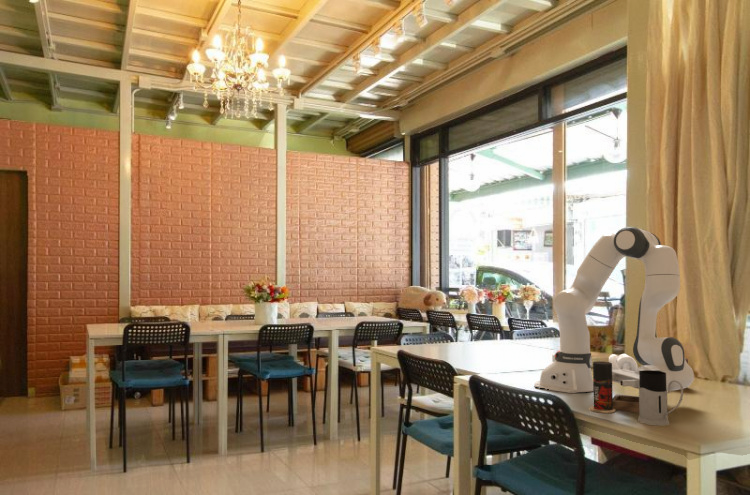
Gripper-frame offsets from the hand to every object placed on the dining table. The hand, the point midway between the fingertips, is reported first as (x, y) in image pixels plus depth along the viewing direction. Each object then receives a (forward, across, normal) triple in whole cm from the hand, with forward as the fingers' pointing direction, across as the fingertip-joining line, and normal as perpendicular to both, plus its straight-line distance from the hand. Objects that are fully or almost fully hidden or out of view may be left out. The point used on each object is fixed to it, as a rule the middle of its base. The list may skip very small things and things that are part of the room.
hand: (612, 380), depth 197 cm
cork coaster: (+4, 0, +10) cm, 10 cm away
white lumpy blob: (-44, -54, +10) cm, 70 cm away
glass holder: (-3, +19, +10) cm, 22 cm away
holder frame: (-7, 0, +10) cm, 12 cm away
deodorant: (+4, 0, +9) cm, 10 cm away
